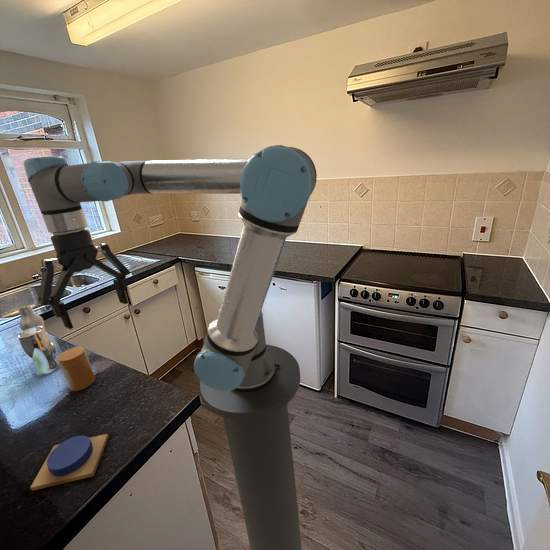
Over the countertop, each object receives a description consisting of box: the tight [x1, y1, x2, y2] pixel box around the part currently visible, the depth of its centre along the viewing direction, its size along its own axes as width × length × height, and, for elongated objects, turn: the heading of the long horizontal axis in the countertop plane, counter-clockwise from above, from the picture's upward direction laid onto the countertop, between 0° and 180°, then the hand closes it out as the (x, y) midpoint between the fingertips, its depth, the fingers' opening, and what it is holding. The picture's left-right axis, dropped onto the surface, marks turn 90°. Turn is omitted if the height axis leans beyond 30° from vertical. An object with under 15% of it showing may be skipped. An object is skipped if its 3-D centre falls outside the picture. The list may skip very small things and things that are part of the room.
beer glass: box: [17, 326, 59, 377], centre depth 97 cm, size 7×7×15 cm
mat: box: [29, 433, 110, 491], centre depth 67 cm, size 12×10×1 cm
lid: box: [46, 435, 93, 476], centre depth 66 cm, size 8×8×2 cm
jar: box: [56, 346, 97, 392], centre depth 90 cm, size 7×7×11 cm
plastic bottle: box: [18, 305, 57, 357], centre depth 103 cm, size 6×7×20 cm
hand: (98, 314), depth 75 cm, fingers open, 13 cm apart
